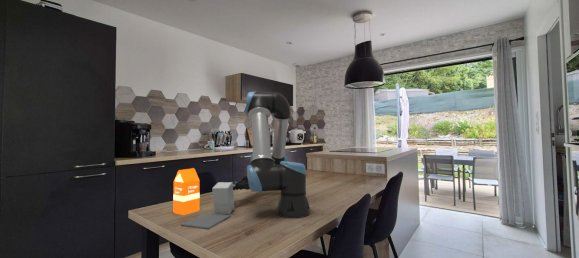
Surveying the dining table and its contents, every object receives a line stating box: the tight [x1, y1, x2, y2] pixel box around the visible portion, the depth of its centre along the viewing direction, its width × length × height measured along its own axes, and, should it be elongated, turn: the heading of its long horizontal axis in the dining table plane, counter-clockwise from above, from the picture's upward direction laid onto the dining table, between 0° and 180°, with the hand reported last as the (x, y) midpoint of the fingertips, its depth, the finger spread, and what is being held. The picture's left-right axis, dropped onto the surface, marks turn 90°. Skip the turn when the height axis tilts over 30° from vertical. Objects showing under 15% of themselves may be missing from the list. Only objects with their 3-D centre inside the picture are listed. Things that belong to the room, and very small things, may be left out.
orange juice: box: [172, 167, 201, 216], centre depth 117 cm, size 8×9×20 cm
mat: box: [180, 212, 232, 230], centre depth 103 cm, size 16×13×1 cm
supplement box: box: [211, 181, 235, 215], centre depth 115 cm, size 7×7×13 cm
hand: (226, 189), depth 119 cm, fingers closed
